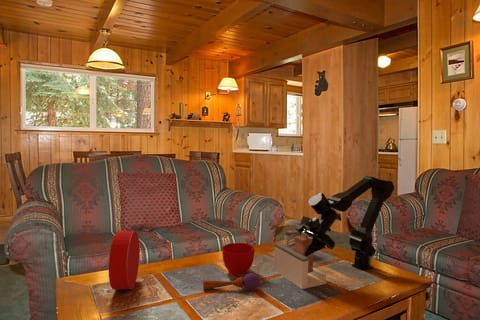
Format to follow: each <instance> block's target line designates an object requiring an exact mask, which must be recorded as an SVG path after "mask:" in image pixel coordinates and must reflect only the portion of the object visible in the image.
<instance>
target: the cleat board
mask: <svg viewBox="0 0 480 320" xmlns="http://www.w3.org/2000/svg"><path fill="white" fill-rule="evenodd" d="M286 246H287V245H286ZM286 246H284V243H283V244H282V242H280V243H279V242H277V243H274V260H273V263H274V264H273V268H274V269H273V270H274V271H275V272H276V273H278V274H279V275H280V276H282V277H284V278H285V279H286V280H288V281H289V282H290V283H292V284H294V285H295V286H297V288H299V289H301V290H304V289H308V288H312V287H313V288H314V287H318V286H322V285H326V284H327V274H326V273H324V272H322V271H320V270H319V269H318V268H315V267H314V266H313V272H311V273H308V258H307V257H305V256H303V255H301V254H299V253H298V252H296V251H294V250H292V249H290V248H288V247H286Z"/></svg>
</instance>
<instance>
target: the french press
mask: <svg viewBox="0 0 480 320" xmlns="http://www.w3.org/2000/svg"><path fill="white" fill-rule="evenodd" d="M291 203H293V206H292V207H293V210H292V217H294V215H295V214H294V213H295V211H294V209H295V203H296V200H295V199H291ZM284 224H285V225H287V226H291V227H296V226H297V224H301V221H300V220H298V219H294V218H292V219H288V220H286V221H284ZM301 225H302V224H301ZM296 236H300V233H299V232H298V231H297V230H296V229H295V228H292V229H291V228H289V229H285V233H284V243H283V245H284V246H286V247H288V248H290V249H292V250H294V251H295V237H296Z"/></svg>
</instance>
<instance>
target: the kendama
mask: <svg viewBox="0 0 480 320" xmlns="http://www.w3.org/2000/svg"><path fill="white" fill-rule="evenodd" d="M260 280H261V279H260V278H259V276H258V275H257V274H256V273H253V272H250V273H246V274H245V275H244V277H243V275H240V277H238V278H236V279H235V280H233V281H228V280H227V281H226V280H210V279H207V280H206V279H204V280H203V282H202V284H203V291H207V290H212V289H216V288H222V287H227V286H232V285H233V286H235V287H238V288H240V289H244V288H245V289H246V290H248V291H249V292H251V291H252V292H253V291H256V290H257V289H258V288H259V286H260V282H261V281H260Z"/></svg>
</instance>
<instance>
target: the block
mask: <svg viewBox="0 0 480 320" xmlns="http://www.w3.org/2000/svg"><path fill="white" fill-rule="evenodd" d="M295 236H296V237H295V239H294V240H295V242H294V243H295V251H296V252H298V253H299V254H301V255H303V256H305V252H306V251H307V249H308V248H309V246H310V245H311V243H312V238H313V237H309V236H308V234H306V233H303V232H302V233H301V236H297V235H295ZM305 257H307V258H308V273H311V272H313V267H314V253H312V254H310V255H308V256H305Z"/></svg>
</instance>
